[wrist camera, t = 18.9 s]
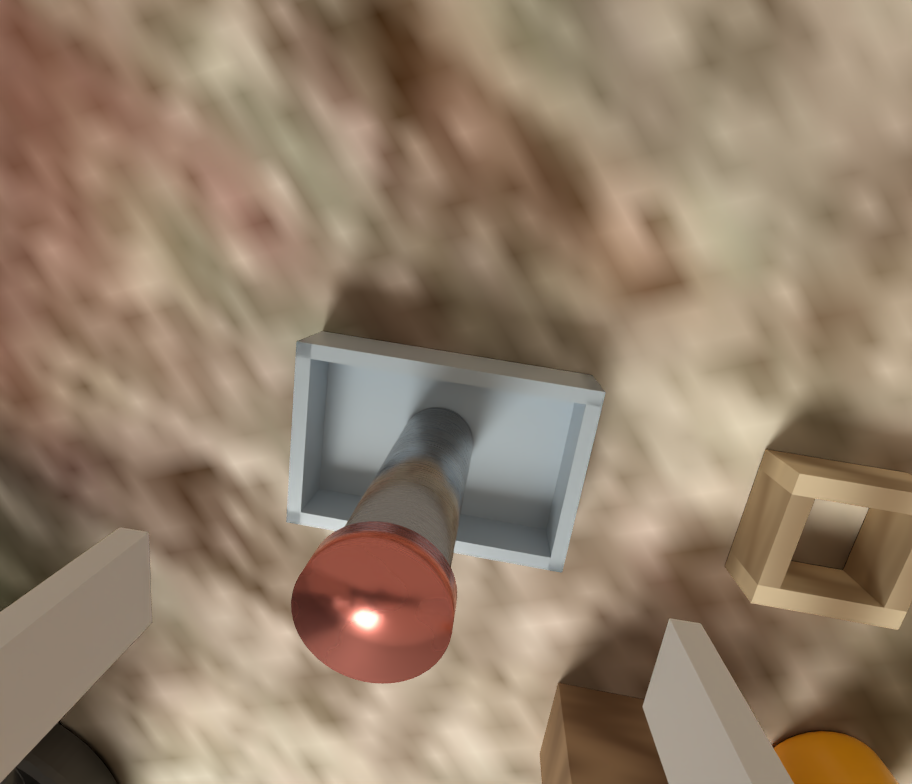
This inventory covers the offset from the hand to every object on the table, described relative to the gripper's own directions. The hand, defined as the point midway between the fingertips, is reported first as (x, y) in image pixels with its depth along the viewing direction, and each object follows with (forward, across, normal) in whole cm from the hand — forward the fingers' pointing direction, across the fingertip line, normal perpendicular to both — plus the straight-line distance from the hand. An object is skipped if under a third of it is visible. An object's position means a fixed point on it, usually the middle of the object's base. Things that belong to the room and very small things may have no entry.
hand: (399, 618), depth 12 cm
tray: (+11, 0, +1) cm, 11 cm away
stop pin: (+10, 0, +1) cm, 10 cm away
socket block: (+10, +17, 0) cm, 20 cm away
